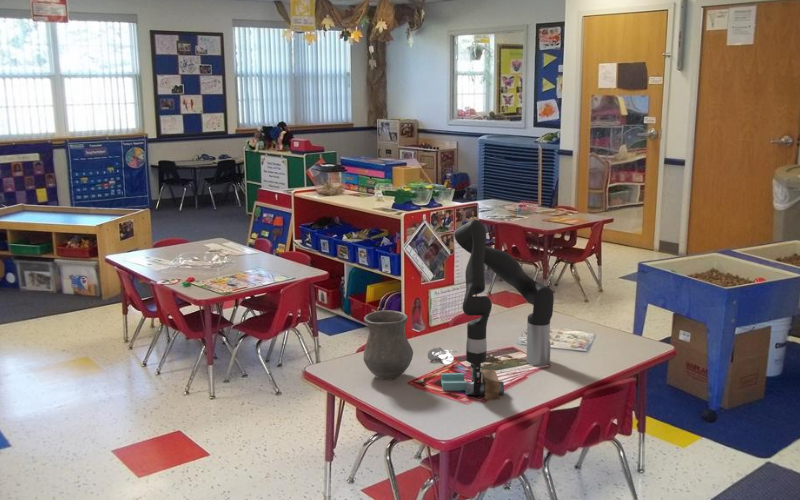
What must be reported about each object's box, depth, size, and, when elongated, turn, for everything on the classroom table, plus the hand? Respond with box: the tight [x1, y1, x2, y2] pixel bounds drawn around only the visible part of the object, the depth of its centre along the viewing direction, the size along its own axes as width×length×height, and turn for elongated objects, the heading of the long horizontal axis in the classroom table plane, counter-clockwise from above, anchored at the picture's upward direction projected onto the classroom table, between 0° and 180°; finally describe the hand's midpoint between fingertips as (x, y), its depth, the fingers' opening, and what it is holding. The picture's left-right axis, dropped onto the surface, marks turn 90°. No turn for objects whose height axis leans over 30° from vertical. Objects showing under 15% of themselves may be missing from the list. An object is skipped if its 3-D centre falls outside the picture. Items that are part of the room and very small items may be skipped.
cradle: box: [440, 372, 467, 391], centre depth 298 cm, size 9×10×3 cm
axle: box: [464, 380, 505, 396], centre depth 289 cm, size 14×5×5 cm, turn 92°
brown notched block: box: [481, 369, 500, 401], centre depth 290 cm, size 5×12×7 cm, turn 1°
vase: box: [363, 309, 414, 381], centre depth 305 cm, size 20×19×25 cm
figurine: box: [427, 346, 458, 365], centre depth 323 cm, size 9×6×12 cm
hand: (475, 391), depth 289 cm, fingers closed on axle, 4 cm apart
